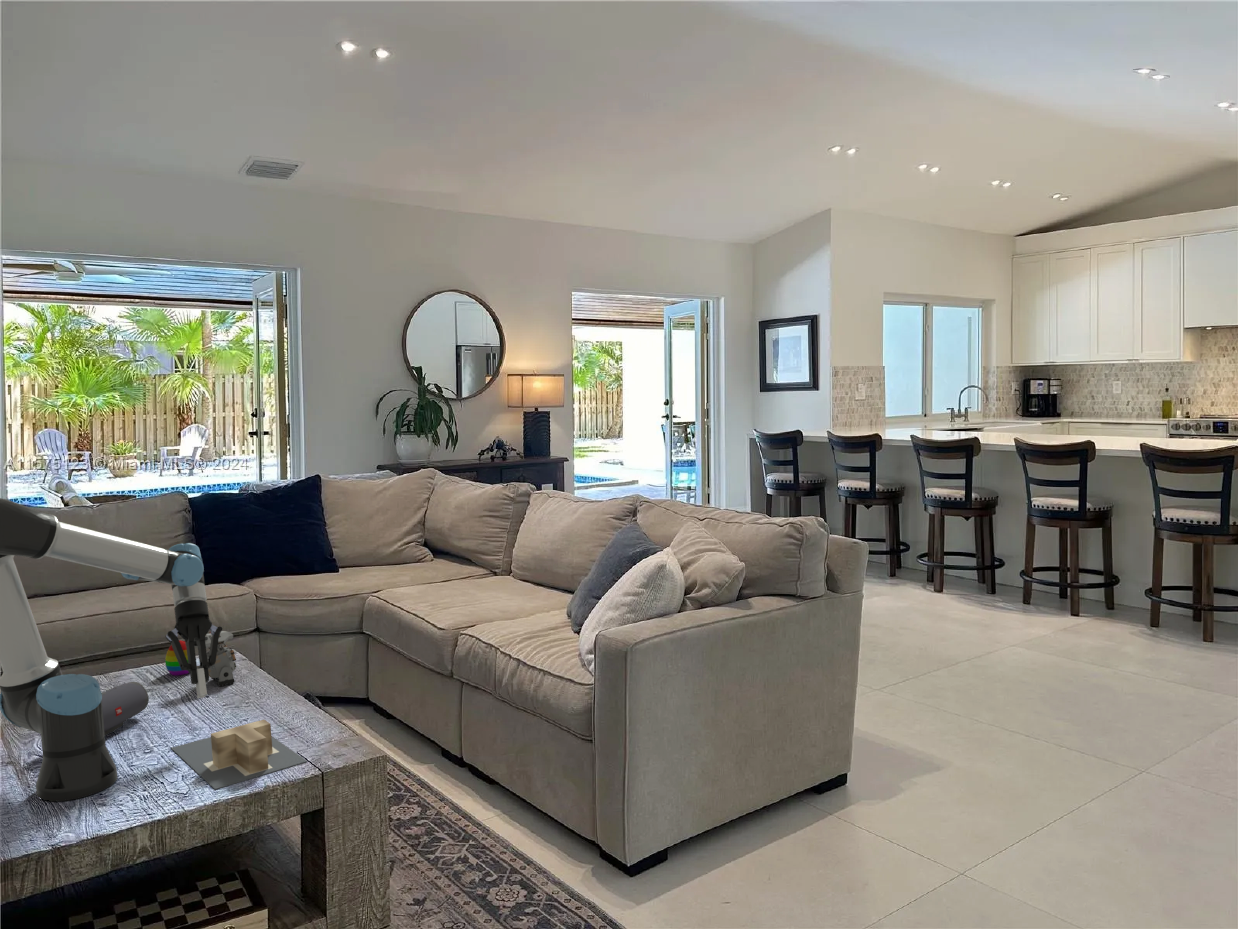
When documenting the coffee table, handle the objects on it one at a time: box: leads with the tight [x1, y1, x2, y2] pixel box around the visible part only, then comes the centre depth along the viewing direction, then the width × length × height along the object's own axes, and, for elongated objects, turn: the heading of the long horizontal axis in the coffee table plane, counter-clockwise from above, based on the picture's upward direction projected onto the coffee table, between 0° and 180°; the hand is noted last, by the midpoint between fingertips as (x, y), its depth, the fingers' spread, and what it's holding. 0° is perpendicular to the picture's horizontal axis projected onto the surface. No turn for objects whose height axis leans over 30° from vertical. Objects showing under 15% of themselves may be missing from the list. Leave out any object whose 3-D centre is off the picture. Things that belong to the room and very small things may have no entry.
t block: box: [210, 719, 273, 774], centre depth 208 cm, size 12×12×7 cm
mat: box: [170, 735, 308, 791], centre depth 214 cm, size 20×32×1 cm, turn 41°
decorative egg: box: [164, 639, 190, 677], centre depth 279 cm, size 8×8×10 cm
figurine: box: [194, 630, 237, 687], centre depth 267 cm, size 9×12×15 cm
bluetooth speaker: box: [101, 681, 150, 736], centre depth 231 cm, size 23×9×10 cm, turn 168°
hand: (202, 696), depth 222 cm, fingers closed
